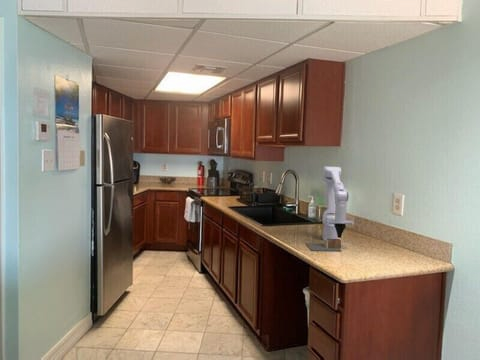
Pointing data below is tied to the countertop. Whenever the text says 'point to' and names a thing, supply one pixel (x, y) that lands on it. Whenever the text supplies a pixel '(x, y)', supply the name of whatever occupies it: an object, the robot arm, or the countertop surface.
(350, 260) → the countertop surface
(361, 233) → the countertop surface
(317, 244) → the rubber mat
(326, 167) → the robot arm
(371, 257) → the countertop surface
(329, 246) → the walnut block
